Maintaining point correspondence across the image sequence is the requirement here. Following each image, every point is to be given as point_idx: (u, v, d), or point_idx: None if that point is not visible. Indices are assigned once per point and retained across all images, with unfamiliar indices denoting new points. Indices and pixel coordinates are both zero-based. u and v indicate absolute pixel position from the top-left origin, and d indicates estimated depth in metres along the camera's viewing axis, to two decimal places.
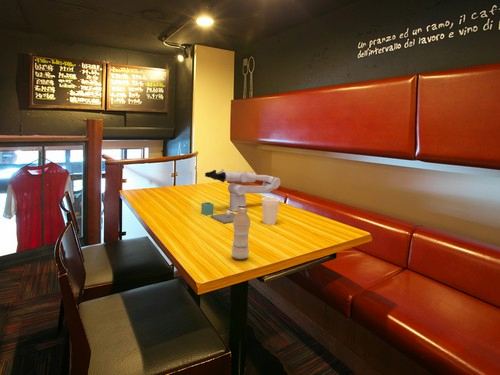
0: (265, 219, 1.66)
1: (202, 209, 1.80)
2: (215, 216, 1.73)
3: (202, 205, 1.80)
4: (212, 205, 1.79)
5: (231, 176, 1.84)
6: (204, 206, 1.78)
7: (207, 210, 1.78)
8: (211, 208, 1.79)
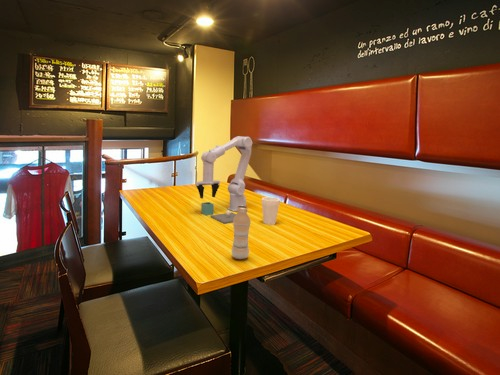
0: (265, 219, 1.66)
1: (202, 209, 1.80)
2: (215, 216, 1.73)
3: (202, 205, 1.80)
4: (212, 205, 1.79)
5: None
6: (204, 206, 1.78)
7: (207, 210, 1.78)
8: (211, 208, 1.79)
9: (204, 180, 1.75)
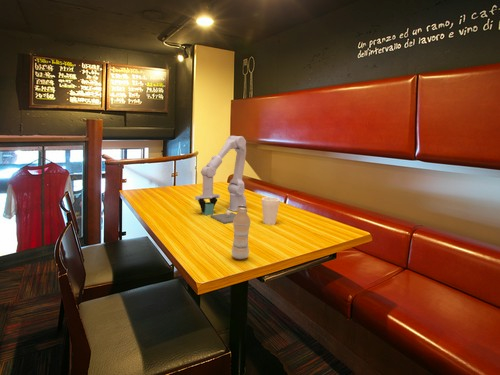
0: (265, 219, 1.66)
1: None
2: (215, 216, 1.73)
3: None
4: (212, 205, 1.79)
5: None
6: None
7: (207, 210, 1.78)
8: (211, 208, 1.79)
9: (204, 194, 1.77)
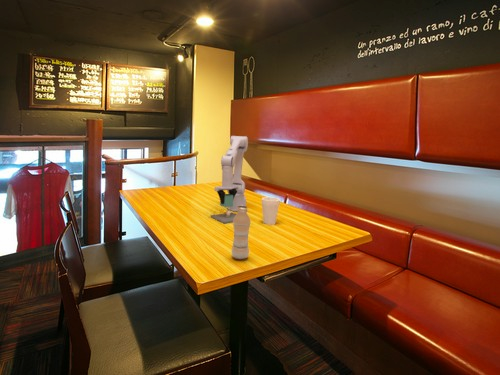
0: (265, 219, 1.66)
1: None
2: (215, 216, 1.73)
3: None
4: (232, 196, 1.71)
5: None
6: None
7: (227, 202, 1.69)
8: (231, 200, 1.71)
9: (223, 185, 1.68)
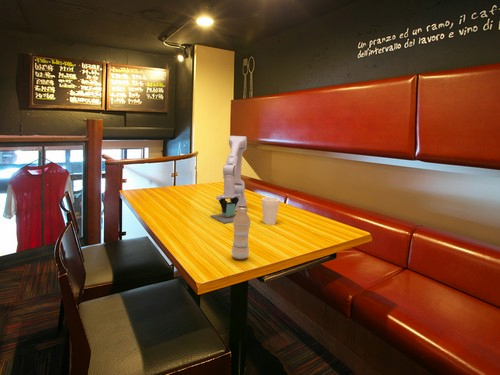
0: (265, 219, 1.66)
1: None
2: (215, 216, 1.73)
3: None
4: (233, 205, 1.71)
5: None
6: None
7: (228, 210, 1.69)
8: (232, 208, 1.71)
9: (225, 194, 1.68)
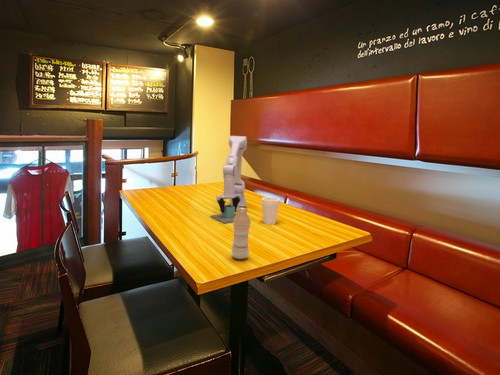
0: (265, 219, 1.66)
1: None
2: (215, 216, 1.73)
3: None
4: (233, 208, 1.71)
5: None
6: (225, 209, 1.70)
7: (228, 213, 1.70)
8: (232, 211, 1.71)
9: (225, 194, 1.68)
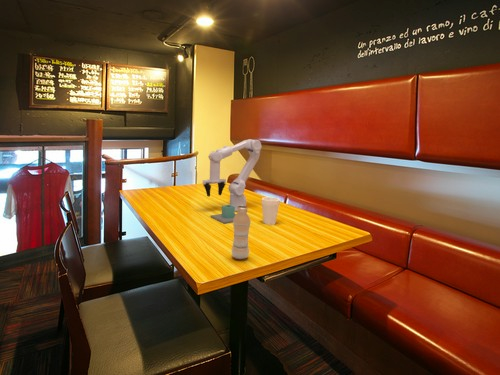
0: (265, 219, 1.66)
1: (223, 212, 1.72)
2: (215, 216, 1.73)
3: (223, 208, 1.71)
4: (233, 208, 1.71)
5: None
6: (225, 209, 1.70)
7: (228, 213, 1.70)
8: (232, 211, 1.71)
9: (211, 179, 1.81)
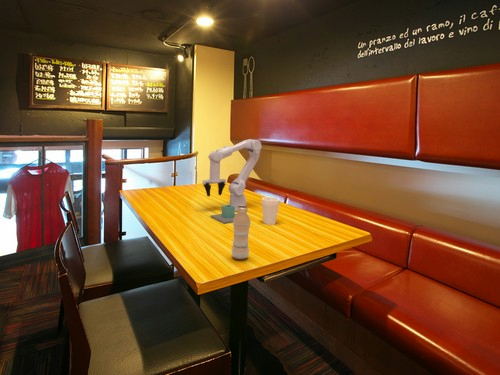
0: (265, 219, 1.66)
1: (223, 212, 1.72)
2: (215, 216, 1.73)
3: (223, 208, 1.71)
4: (233, 208, 1.71)
5: None
6: (225, 209, 1.70)
7: (228, 213, 1.70)
8: (232, 211, 1.71)
9: (211, 179, 1.81)
